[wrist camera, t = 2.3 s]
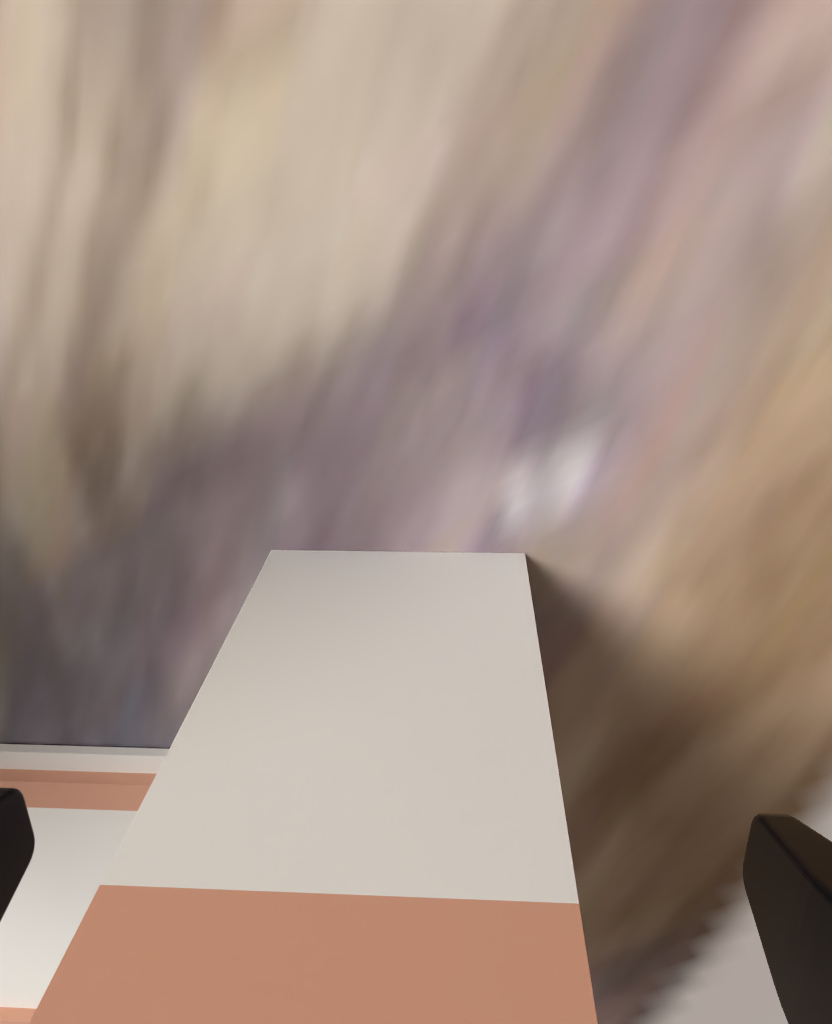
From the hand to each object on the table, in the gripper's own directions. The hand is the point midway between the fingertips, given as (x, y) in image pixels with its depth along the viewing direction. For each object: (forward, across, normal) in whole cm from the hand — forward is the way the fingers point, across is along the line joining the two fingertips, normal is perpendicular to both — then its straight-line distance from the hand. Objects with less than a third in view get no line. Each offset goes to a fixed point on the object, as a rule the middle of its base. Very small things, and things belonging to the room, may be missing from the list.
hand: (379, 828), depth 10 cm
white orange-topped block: (+4, 0, 0) cm, 4 cm away
